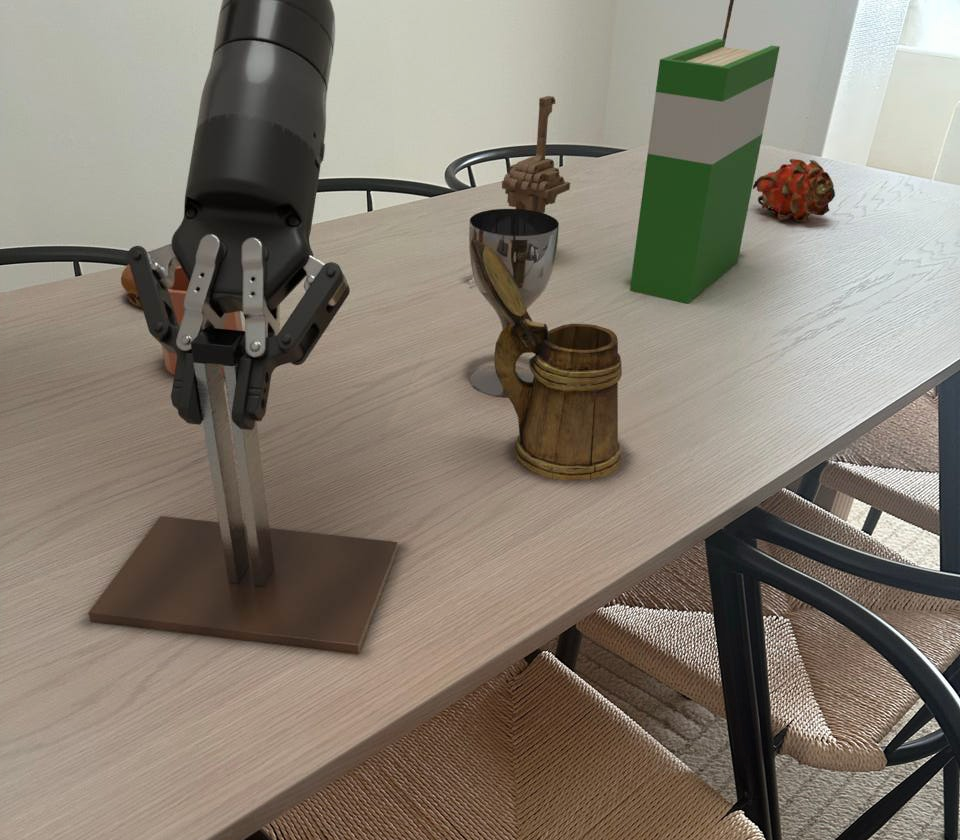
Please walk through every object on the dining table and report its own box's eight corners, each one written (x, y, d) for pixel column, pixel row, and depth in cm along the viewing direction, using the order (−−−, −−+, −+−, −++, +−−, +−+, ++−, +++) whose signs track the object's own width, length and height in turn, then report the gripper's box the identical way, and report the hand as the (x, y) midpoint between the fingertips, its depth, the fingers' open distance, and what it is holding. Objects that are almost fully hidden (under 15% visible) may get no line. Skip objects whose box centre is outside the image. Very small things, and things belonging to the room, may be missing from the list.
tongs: (228, 582, 67) (189, 342, 56) (240, 563, 69) (204, 326, 58) (263, 587, 67) (231, 346, 56) (274, 567, 69) (245, 330, 58)
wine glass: (454, 390, 95) (456, 228, 85) (480, 358, 101) (486, 204, 91) (533, 404, 93) (545, 241, 84) (555, 371, 99) (569, 215, 89)
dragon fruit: (828, 241, 140) (749, 235, 146) (850, 192, 141) (771, 189, 148) (820, 196, 133) (736, 192, 139) (843, 146, 134) (760, 144, 141)
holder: (154, 383, 94) (137, 289, 88) (184, 351, 100) (169, 261, 94) (231, 390, 93) (218, 296, 88) (257, 358, 99) (247, 267, 93)
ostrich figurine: (521, 246, 129) (530, 91, 117) (565, 257, 126) (578, 99, 115) (444, 281, 118) (445, 113, 106) (490, 294, 115) (497, 123, 104)
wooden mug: (472, 428, 89) (478, 220, 78) (622, 443, 88) (651, 234, 76) (455, 477, 82) (459, 256, 71) (618, 494, 81) (648, 272, 69)
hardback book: (683, 250, 130) (717, 38, 114) (737, 261, 127) (779, 46, 112) (629, 290, 118) (659, 59, 102) (688, 303, 115) (728, 68, 100)
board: (92, 630, 65) (87, 612, 64) (163, 532, 74) (160, 515, 73) (358, 663, 63) (357, 645, 63) (398, 558, 73) (397, 541, 72)
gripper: (122, 101, 57) (72, 389, 55) (358, 117, 56) (315, 413, 54) (173, 176, 64) (130, 432, 63) (382, 191, 63) (345, 453, 61)
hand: (216, 421), depth 58 cm, fingers closed
